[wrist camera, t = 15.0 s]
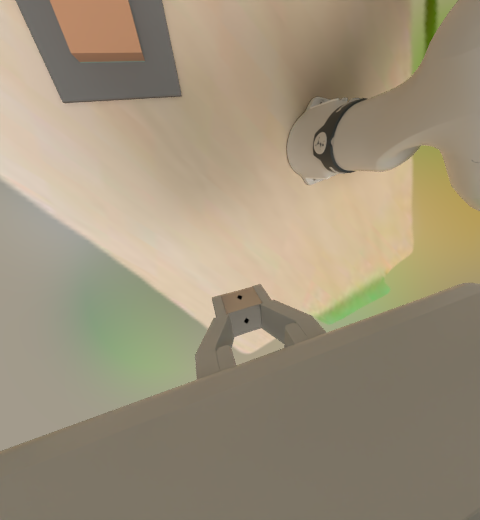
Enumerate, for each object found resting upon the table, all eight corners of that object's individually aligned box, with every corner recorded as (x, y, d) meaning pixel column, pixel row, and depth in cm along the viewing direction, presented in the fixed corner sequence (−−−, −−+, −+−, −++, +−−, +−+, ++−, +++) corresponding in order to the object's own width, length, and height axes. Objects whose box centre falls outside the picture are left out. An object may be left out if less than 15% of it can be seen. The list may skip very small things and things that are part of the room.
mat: (137, -118, 24) (136, -124, 24) (181, 96, 35) (181, 95, 35) (-51, -149, 20) (-57, -156, 20) (64, 102, 31) (62, 101, 31)
